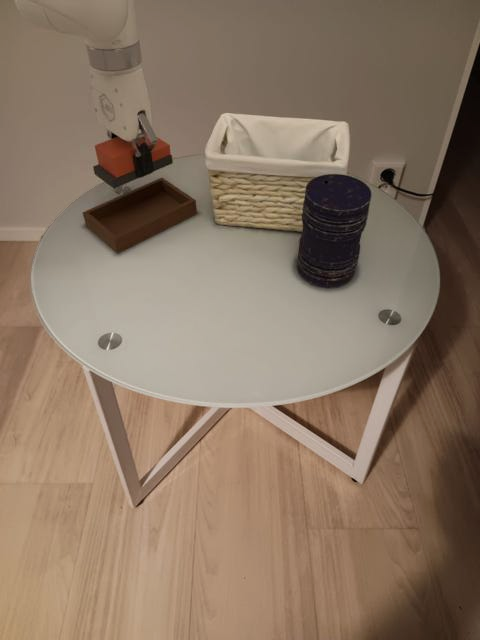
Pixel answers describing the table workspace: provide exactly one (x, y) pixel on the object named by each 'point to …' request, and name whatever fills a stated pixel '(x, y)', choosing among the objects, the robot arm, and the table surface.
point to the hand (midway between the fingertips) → (133, 165)
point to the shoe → (125, 160)
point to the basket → (270, 166)
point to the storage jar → (332, 229)
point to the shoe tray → (139, 214)
